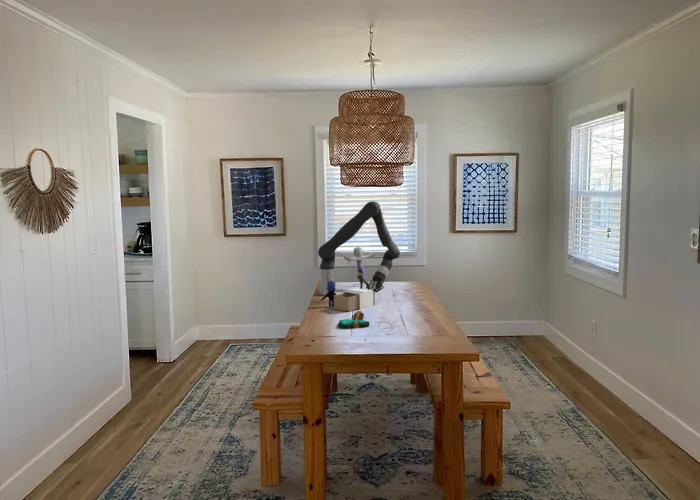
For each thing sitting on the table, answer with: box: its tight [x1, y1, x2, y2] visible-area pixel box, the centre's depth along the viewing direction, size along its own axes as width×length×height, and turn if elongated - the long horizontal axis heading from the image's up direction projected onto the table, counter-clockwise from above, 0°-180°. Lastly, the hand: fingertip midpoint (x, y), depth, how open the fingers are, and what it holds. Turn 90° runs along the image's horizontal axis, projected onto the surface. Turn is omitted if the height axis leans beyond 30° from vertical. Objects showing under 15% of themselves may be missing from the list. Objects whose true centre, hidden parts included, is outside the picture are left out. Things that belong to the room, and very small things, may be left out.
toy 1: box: [320, 280, 338, 308], centre depth 330 cm, size 13×6×15 cm, turn 84°
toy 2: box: [337, 310, 370, 329], centre depth 291 cm, size 16×3×30 cm
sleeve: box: [342, 287, 374, 311], centre depth 328 cm, size 12×14×10 cm
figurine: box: [343, 246, 375, 289], centre depth 381 cm, size 17×21×30 cm
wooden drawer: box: [333, 291, 376, 312], centre depth 326 cm, size 24×11×8 cm, turn 139°
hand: (368, 296), depth 336 cm, fingers closed
